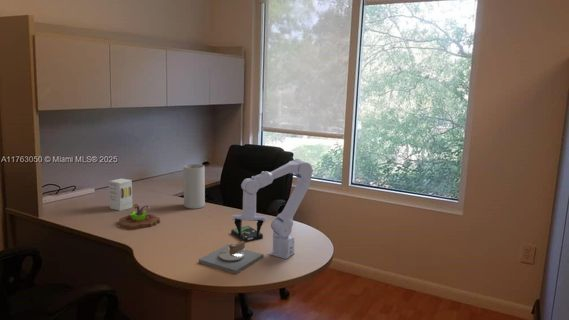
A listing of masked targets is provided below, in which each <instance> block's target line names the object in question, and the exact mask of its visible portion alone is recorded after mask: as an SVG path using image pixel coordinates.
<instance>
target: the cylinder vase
mask: <svg viewBox="0 0 569 320" xmlns="http://www.w3.org/2000/svg"><path fill="white" fill-rule="evenodd" d="M182 168H183V170H182V172H183V206H184V208H186V209H193V210H194V209H195V210H197V209H202V208H203V207H205V206H206V201H205V200H206V197H205V196H206V193H205V191H206V189H205V188H206V187H205V186H206V185H205V183H206V180H205V179H206V177H205V176H206V175H205V174H206V172H205V171H206V170H205V165H204V164H200V163H190V164H185V165H183V167H182Z"/></svg>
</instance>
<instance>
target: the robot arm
mask: <svg viewBox="0 0 569 320" xmlns="http://www.w3.org/2000/svg"><path fill="white" fill-rule="evenodd" d="M313 172H314V170H313V167H312V164H311V163H310V162H306V161H305V160H302V159H299V158H295V159H293V160H290V161H288V162H287V163H285V164H283V165H281V166H279V167H278V168H275V169H274V170H272V171H267V170H265V171H264V170H263V171H261V173H259V174H256V175H252V176H251V178H250V177H249V178H244V179H243V181H242V182H241V184H240V186H241V187H240V188H241V189H242V214H241V213H240V214H232V216H231V217H232V221H234V225H235V228H237V229H238V233H239V237H241V235H242V229H241V227H243V226H242V223H243V221H251V222H256V231H257V238H258V237H259V232H260V233H261V228H262V227H263V225H264V223H266V221H267V216H266V215H265V216H264V215H258V214H257V192H258V191H259V190H260V189H262V188H265V187H267V186H268V185H271V184H273V181H274V180H275V179H278V178H280V177H283V176H285V175H287V174H293V175H295V177H296V181H297V182H296V184H295V187H294V189H293V191H292V192H291V194H290V196H289V199H288V200H287V202H286V204H285V206H284V207H283V210H282V211H281V212H280V213H279V214H277V215H276V217H275V218H274V219H273V220H272V221H271V222H270V227H271V229H272V231H273V233H272V251H270V252H268V255H270V256H275V257H278V258H281V259H285V260H286V259H288V258H290V257H291V256H293V255H295V254H296V252H295V237H292V236H291V233H292V228H293V226H294V216H295V214H296V212H297V211H298V209H299V207H300V204H302V201H303V199H304V197H305V196H306V194H307V192H308V189H309V187H310V186H311V182H312V174H313Z"/></svg>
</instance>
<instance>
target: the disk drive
mask: <svg viewBox="0 0 569 320" xmlns="http://www.w3.org/2000/svg"><path fill="white" fill-rule="evenodd" d="M241 229H242V235H241V237H239V233H238V229H237V227H235V228H231V231H230V232H231V234H232V235H234V236H235V237H236V238H238V239H240V240H241V241H244V242H245V243H248V242H253V241H257V240H263V238H264V235H263V233H261V231H260V232H259V237H258V238H257V229H255V228H253V227H252V226H249V225H246V226H241Z"/></svg>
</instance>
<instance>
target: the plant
mask: <svg viewBox="0 0 569 320" xmlns="http://www.w3.org/2000/svg"><path fill="white" fill-rule="evenodd" d="M145 207H146V208H147V210H150V206H149V205H144V206H141V208H140V206H139V205H138V204H137V203H136V204H135V203H134V204H132V208H133V209H137V211H136V210H133V211H132V212H131V214H130V213H129V214H128V215H126V216H122V217H121V218H119V219H118V223H119V225H120V226H119V225H118V226H119V227H121V228H122V227H123V228H122V229H127V228H128V230H130V229H131V231H132V230H133V231H135V230H138V229H145V228H151V227H154V226H157V225H158V224H160V223H161V219H160V217H157V216H156V215H154V214H150V213H146V212H147V210H144V209H145Z"/></svg>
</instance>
